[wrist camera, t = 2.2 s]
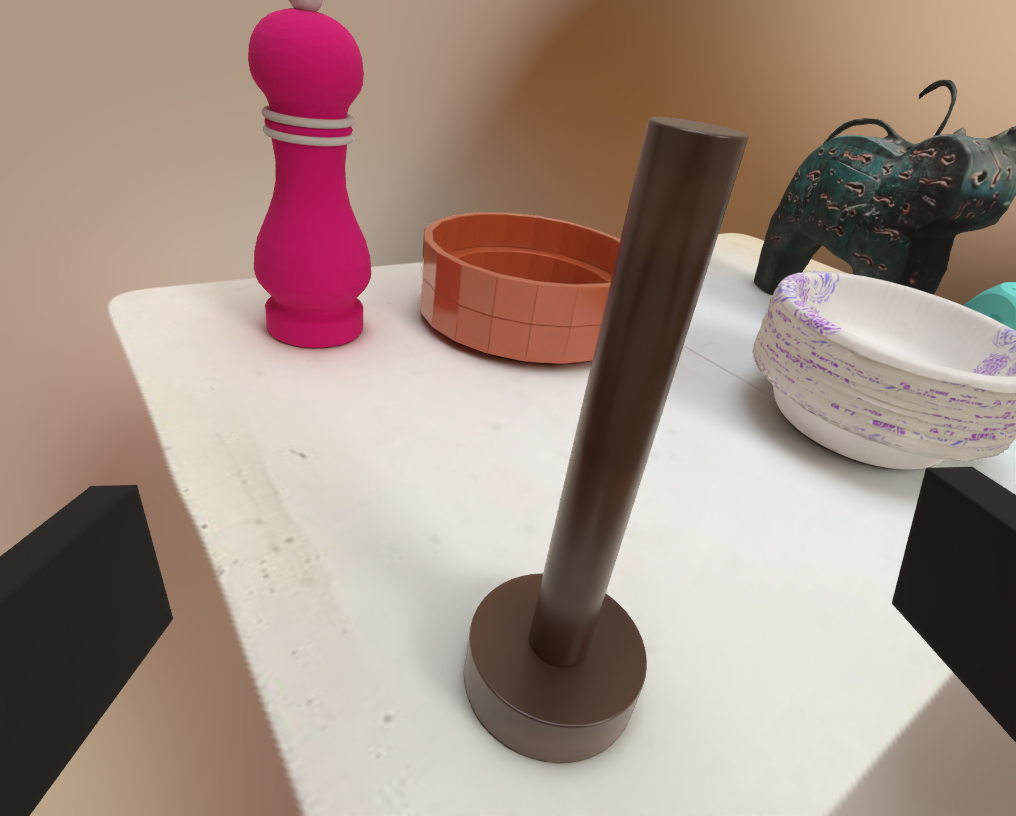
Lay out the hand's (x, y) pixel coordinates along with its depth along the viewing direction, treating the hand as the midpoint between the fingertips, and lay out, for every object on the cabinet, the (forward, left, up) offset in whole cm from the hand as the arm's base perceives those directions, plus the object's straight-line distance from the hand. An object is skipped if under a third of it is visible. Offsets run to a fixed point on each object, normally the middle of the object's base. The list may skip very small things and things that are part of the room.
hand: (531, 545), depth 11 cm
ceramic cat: (+5, +53, -12) cm, 55 cm away
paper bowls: (+9, +34, -12) cm, 37 cm away
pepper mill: (-25, +21, -12) cm, 35 cm away
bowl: (-15, +33, -12) cm, 39 cm away
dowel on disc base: (0, +6, -12) cm, 13 cm away
